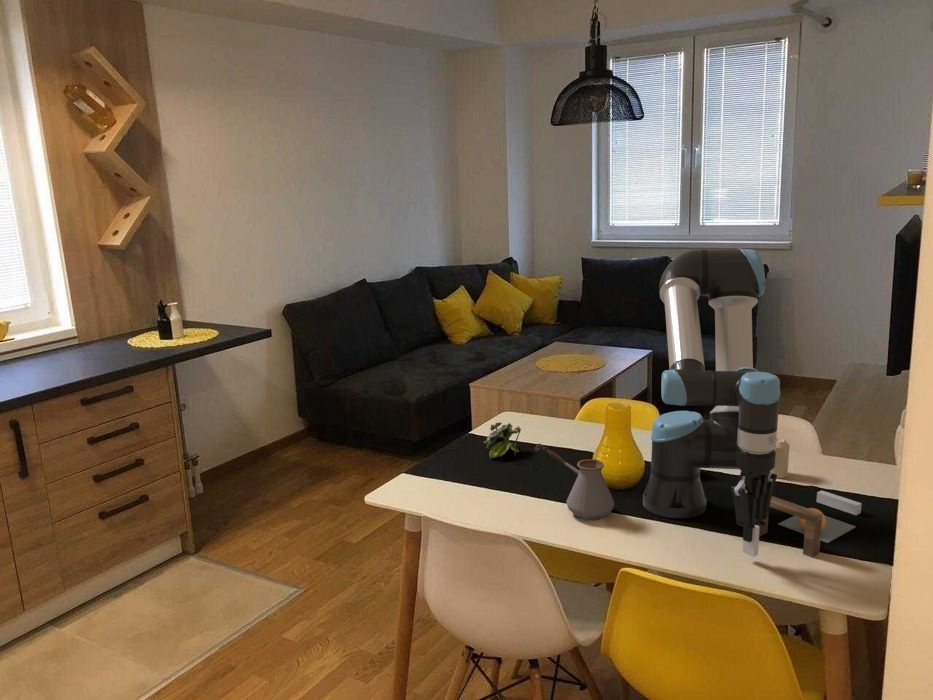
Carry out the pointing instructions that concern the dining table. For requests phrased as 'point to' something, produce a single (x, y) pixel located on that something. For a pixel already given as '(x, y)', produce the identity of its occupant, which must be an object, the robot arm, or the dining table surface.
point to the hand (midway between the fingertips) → (750, 553)
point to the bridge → (811, 524)
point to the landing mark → (827, 533)
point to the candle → (781, 459)
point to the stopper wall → (839, 502)
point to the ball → (802, 521)
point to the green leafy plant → (501, 440)
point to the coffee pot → (587, 489)
